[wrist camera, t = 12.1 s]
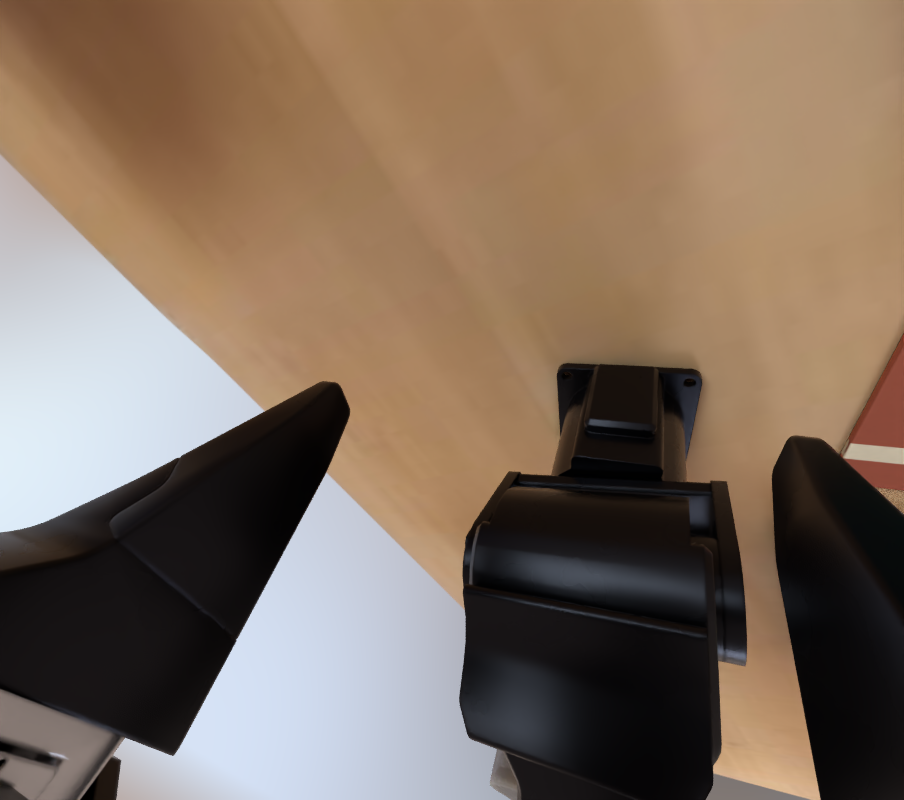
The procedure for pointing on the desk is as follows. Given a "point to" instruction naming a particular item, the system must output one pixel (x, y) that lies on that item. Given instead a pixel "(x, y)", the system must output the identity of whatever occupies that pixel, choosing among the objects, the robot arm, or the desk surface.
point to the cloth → (881, 430)
